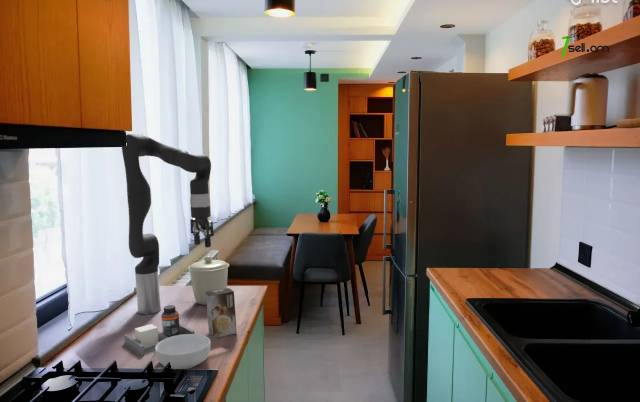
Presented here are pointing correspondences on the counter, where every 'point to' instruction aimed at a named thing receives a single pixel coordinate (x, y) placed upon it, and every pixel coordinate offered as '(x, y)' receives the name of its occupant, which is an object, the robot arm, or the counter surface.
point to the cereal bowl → (183, 350)
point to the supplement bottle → (170, 321)
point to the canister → (208, 277)
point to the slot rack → (141, 351)
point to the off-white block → (147, 335)
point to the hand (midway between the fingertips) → (202, 245)
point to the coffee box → (221, 312)
